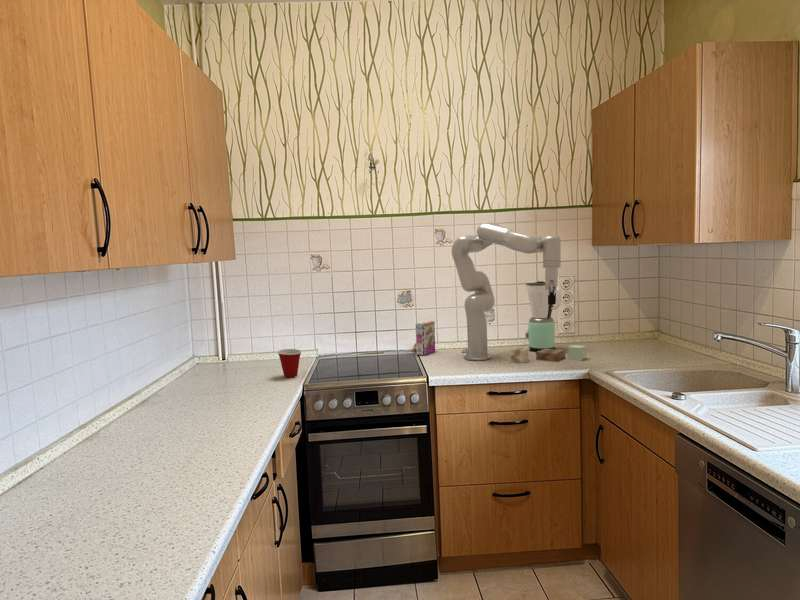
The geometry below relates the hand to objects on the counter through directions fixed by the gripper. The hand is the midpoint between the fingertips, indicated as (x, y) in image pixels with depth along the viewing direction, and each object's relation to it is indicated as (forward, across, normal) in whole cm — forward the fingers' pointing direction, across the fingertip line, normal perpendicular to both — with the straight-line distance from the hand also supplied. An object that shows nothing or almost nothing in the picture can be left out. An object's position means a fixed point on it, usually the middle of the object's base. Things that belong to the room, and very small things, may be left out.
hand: (552, 302), depth 264 cm
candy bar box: (+30, -25, -64) cm, 75 cm away
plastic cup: (+30, +29, -114) cm, 121 cm away
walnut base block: (+29, -16, -1) cm, 33 cm away
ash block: (+29, -9, -15) cm, 34 cm away
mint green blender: (+29, -36, -5) cm, 47 cm away
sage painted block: (+29, -16, +11) cm, 35 cm away
